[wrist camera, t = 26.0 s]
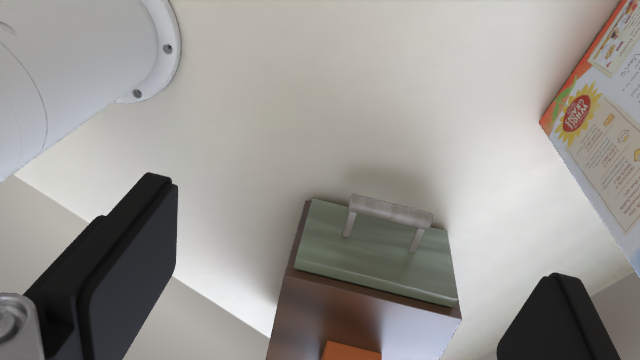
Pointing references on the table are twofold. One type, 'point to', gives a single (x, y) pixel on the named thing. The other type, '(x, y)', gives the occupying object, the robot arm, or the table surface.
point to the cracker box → (605, 127)
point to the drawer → (378, 249)
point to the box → (347, 352)
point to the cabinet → (354, 318)
